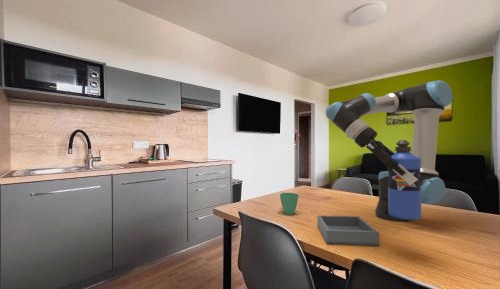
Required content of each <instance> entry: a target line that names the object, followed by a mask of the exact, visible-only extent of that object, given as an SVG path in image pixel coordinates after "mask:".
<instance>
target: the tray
mask: <svg viewBox="0 0 500 289" xmlns="http://www.w3.org/2000/svg"><path fill="white" fill-rule="evenodd" d="M316 216H317V222H316V223H317V228H318V230H319V232H320V234H321V236H322V238H323V239H324V241H325V243H326V245H336V246H337V245H339V246H357V247H358V246H360V247H361V246H362V247H363V246H364V247H380V233H379V231H378V230H377V229H375V227H373V226H372V225H371V224H370V223H368V222H367V221H366V220H365V219H364V218H362V217H361V216H358V215H357V216H355V215H322V214H321V215H316Z"/></svg>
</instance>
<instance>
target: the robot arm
mask: <svg viewBox="0 0 500 289" xmlns="http://www.w3.org/2000/svg"><path fill="white" fill-rule="evenodd" d="M453 98H454V96H453V91H452V88H451V87H450V85H449V84H448V83H447V82H445V81H443V80H435V81H427V82H426V83H421V84H418V85H414V86H410V87H405V88H404V89H400V90H397V91H394V92H390V93H386V94H384V96H377V97H375V96H374V95H373V94H371V93H368V92H365V93H362V94H359V95H358V96H357V97H355V98H354V97H353V98H350V99H347V100H343V101H335V102H334V103H332V104H329V105H328V106H326V109H325V116H326V118H327V119H328V120H330V121H331V123H333V124H334V125H335V126H336V127H338V129H339V130H341V131H342V132H343V133H344V134H345V135H346V138H350V139H351V140H352V141H354V143H355V144H356V145H357V146H358V147H359V148H362V149H363V148H365V147H366V149H367V150H369V151H370V152H371V153H372V154H373V155H374V156H375V157H377V159H379V160H380V162H382V163H383V164H384V166H386V168H387V170H386V171H385V170H384V171H380V172H379V173H378V179H377V180H378V201H377V202H378V203H377V205H376V207H375V210H374V215H375V216H376V217H378V218H380V219H383V220H388V221H393V222H408V221H410V220H408V219H401V218H397V217H393V216H391V215H389V213H388V185H389V174H388V170H389V171H391V170H393V171H394V172H395V173H397V174H398V175H399V176H400V177H401V178H402V179H403V180H404V181H406V182H407V183H408V184H409V185H411V184H413V183H414V182H415V181H417V180H418V179H417V178H416V177H414V176H413V175H412V174H411V173H410V172H409V171H407V170H406V169H405V168H404V167H403V166H402V165H400V164H399V165H398V163H397V162H396V161H395V160H394V159H393V158H392V157H391V156H392V155H394V154H395V153H396V152H395V153H394V152H393V151H392V150H391V149H390V148H388V147H387V146H386V145H385V144H384V143H382V141H380V140H376V139H375V138H376V137H378V131H376V130H374V128H372V127H370V126H369V124H368V123H367V122H365V121H364V120H363V119H361V118H362V116H366V115H373V114H377V113H383V112H386V113H390V114H391V113H397V112H398V113H399V112H400V113H401V112H402V113H403V112H411V114H412V115H414V124H413V135H412V144H411V146H412V147H411V154H412V155H414V156H416V157H419V158H421V169H420V176H419V184H420V189H421V204H427V205H434V204H437V203H438V202H439V201H441V199H443V197H444V194H445V191H446V185H445V182H444V180H443V179H441V178H440V177H439V176H440V175H439V172H438V171H436V159H437V158H436V157H437V148H438V147H437V146H438V145H437V144H438V134H439V133H438V132H439V124H440V122H439V121H440V116H441V115H442V114H444V113H445V107H448V106H450V105H452V103H453Z"/></svg>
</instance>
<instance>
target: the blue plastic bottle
mask: <svg viewBox="0 0 500 289" xmlns="http://www.w3.org/2000/svg"><path fill="white" fill-rule="evenodd" d="M395 144H396V145H397V146H395V154H394V155H392V156H391V157H392V158H393V159H394V160H395V161H396V162H397V163H398V165H399V164H400V165H402V166H403V167H404V168H405V169H406V170H407V171H409V172H410V173H411V174H412V175H413V176H414V177H416V178H417V179H418V180H417V181H415V182H414V183H413V184H411V185H409V184H408V183H407V182H406V181H404V180H403V179H402V178H401V177H400V176H399V175H398V174H397V173H395V172H394V171H393V170H391V171H389V170H388V169H387V171H388V174H389V185H388V213H389V215H391V216H393V217H397V218H401V219H408V220H409V221H412V220H413V221H415V220H421V219H422V203H421V189H420V184H419V176H420V169H421V158H419V157H416V156H414V155H412V147H411V146H409V145H410V142H409V141H408V140H406V139H400V140H398V141H396V143H395Z"/></svg>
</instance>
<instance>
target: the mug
mask: <svg viewBox="0 0 500 289" xmlns="http://www.w3.org/2000/svg"><path fill="white" fill-rule="evenodd" d="M279 199H280V203H281V205H282V206H281V207H282V210H283V213H284V214H285V215H288V216H292V215H294V214H295V212H296V209H297V206H298V201H299V194H298V193H294V192H284V191H283V192H281V193H280V194H279Z"/></svg>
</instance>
